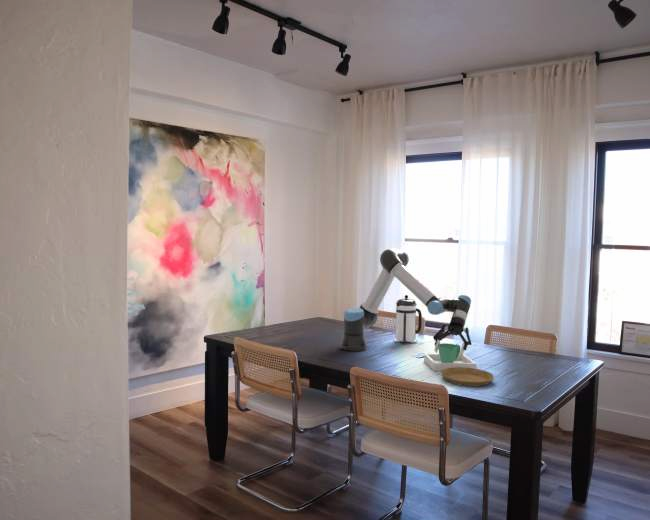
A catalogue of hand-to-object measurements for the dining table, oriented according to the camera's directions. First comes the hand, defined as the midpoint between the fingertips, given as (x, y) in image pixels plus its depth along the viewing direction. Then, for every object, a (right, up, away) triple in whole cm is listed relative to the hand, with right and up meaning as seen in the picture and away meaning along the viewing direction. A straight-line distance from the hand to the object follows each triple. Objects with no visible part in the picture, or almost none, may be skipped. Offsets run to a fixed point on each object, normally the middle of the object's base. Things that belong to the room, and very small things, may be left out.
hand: (448, 353), depth 273 cm
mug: (+1, -6, +2) cm, 7 cm away
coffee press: (-12, -4, +62) cm, 63 cm away
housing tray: (+1, -7, +2) cm, 8 cm away
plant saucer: (+3, -9, -24) cm, 26 cm away
